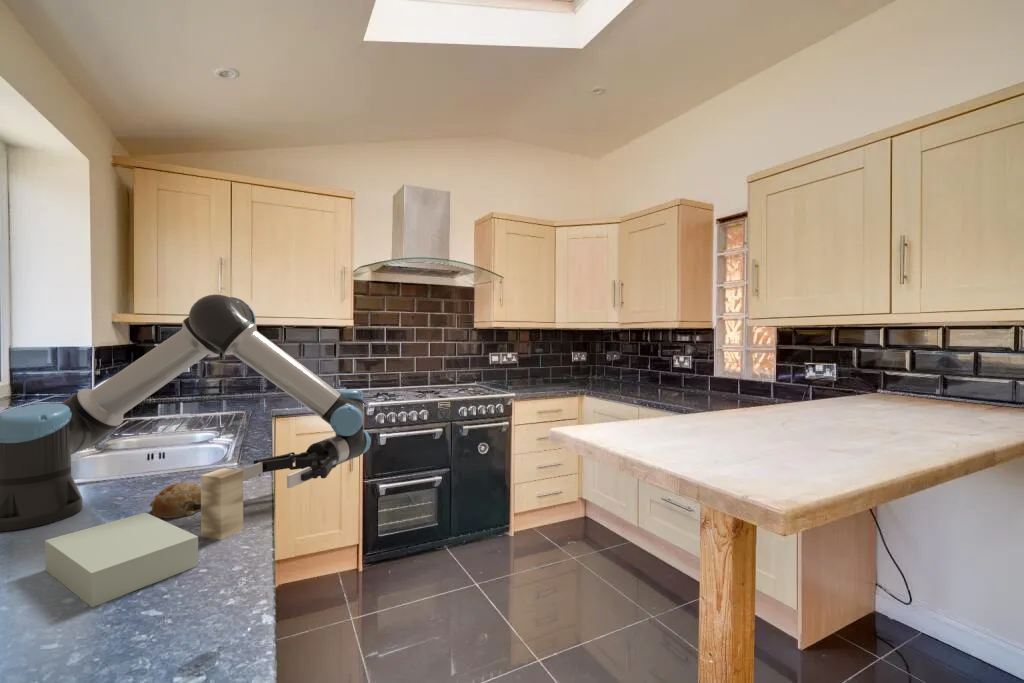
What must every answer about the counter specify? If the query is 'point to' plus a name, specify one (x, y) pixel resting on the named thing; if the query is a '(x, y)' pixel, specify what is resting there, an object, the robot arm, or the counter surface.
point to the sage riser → (120, 557)
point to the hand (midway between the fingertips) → (262, 479)
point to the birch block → (221, 503)
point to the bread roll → (177, 501)
